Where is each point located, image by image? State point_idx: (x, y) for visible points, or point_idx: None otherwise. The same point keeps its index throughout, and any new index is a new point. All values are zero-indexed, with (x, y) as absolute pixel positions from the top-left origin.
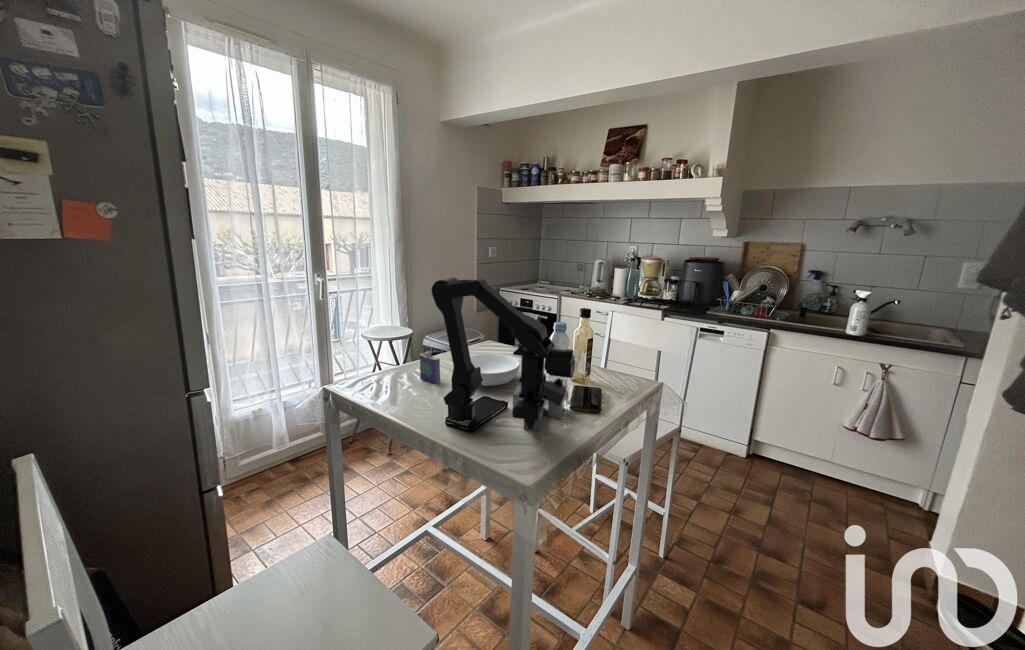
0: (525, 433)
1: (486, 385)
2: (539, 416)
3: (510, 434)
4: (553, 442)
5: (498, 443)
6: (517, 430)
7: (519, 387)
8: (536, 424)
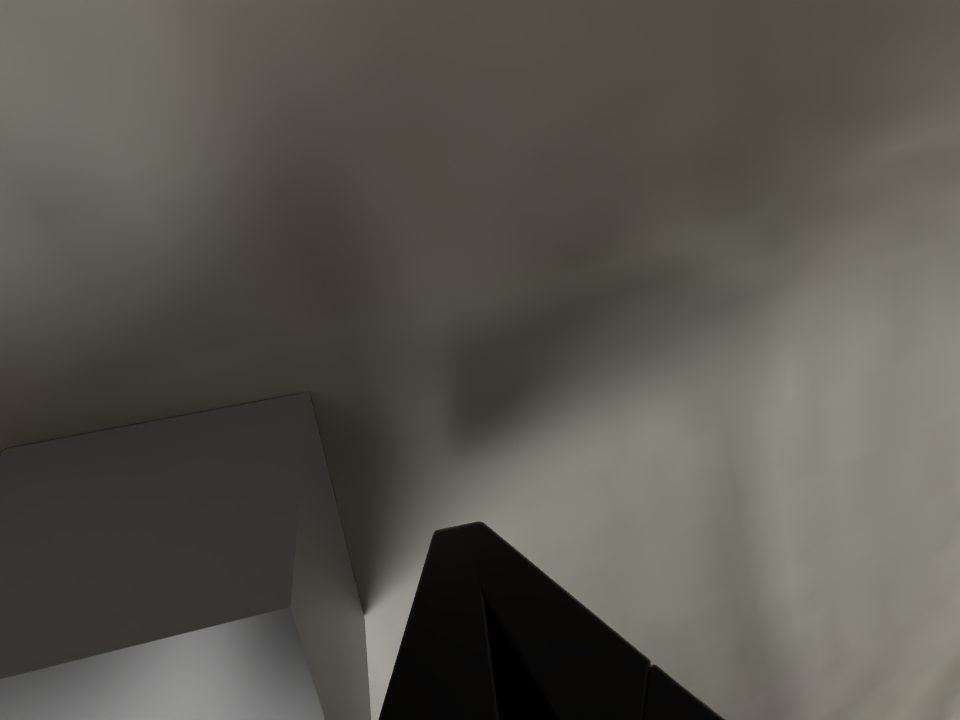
0: None
1: None
2: (275, 649)
3: None
4: (600, 61)
5: (752, 682)
6: None
7: None
8: (322, 535)
